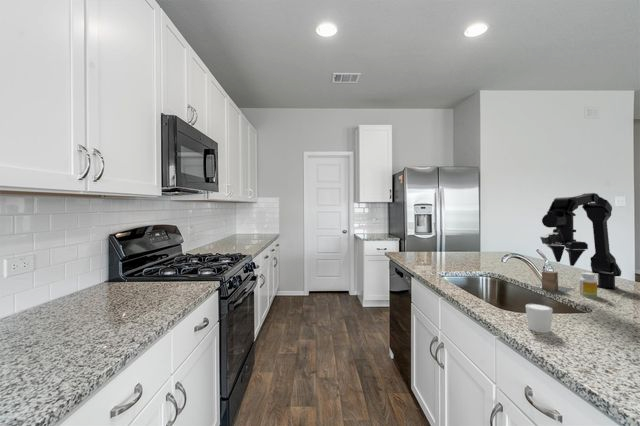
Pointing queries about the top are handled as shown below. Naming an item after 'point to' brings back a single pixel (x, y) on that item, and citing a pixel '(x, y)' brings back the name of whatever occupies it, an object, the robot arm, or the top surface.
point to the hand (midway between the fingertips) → (564, 263)
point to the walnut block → (550, 280)
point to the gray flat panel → (560, 290)
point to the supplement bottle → (588, 285)
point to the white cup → (539, 317)
